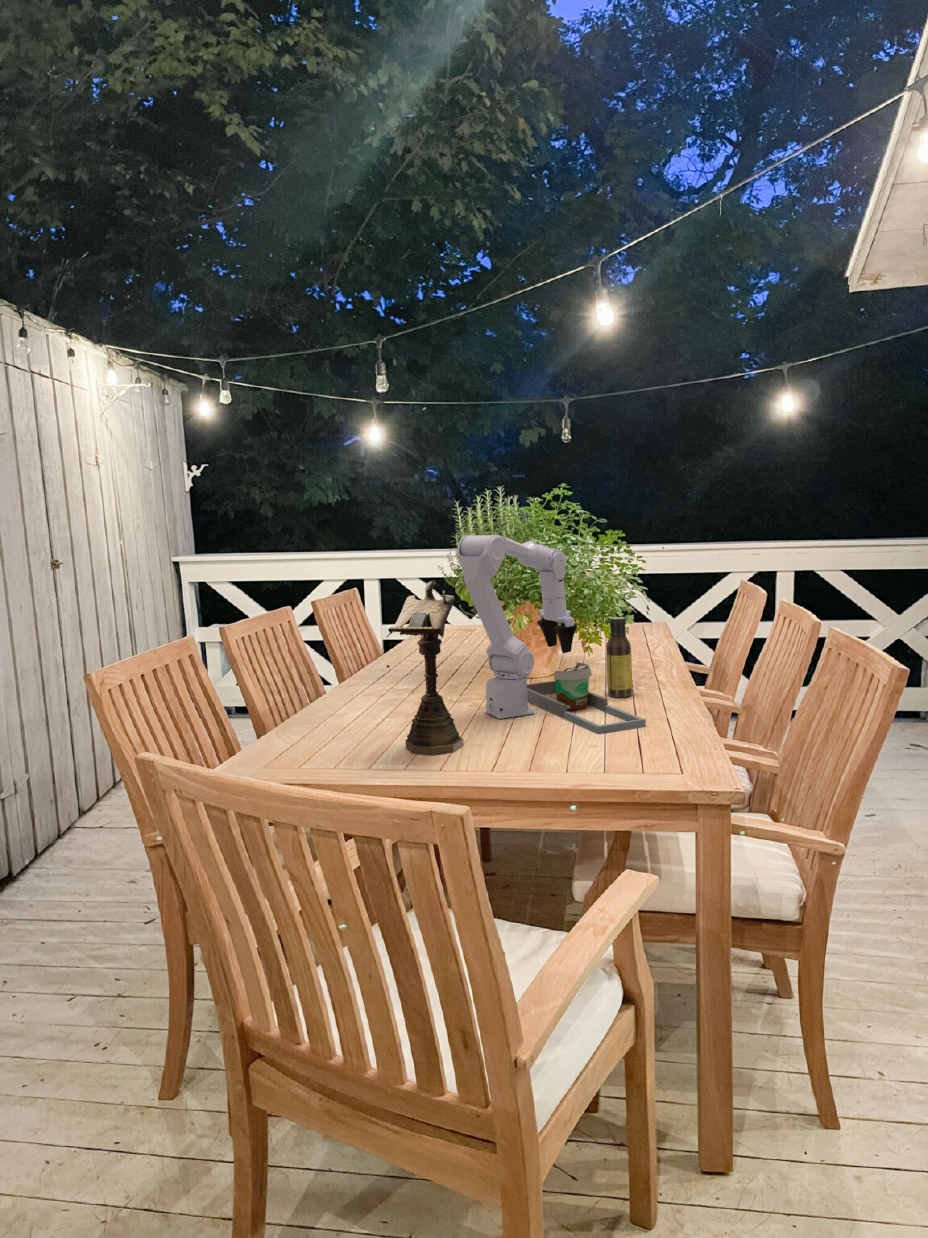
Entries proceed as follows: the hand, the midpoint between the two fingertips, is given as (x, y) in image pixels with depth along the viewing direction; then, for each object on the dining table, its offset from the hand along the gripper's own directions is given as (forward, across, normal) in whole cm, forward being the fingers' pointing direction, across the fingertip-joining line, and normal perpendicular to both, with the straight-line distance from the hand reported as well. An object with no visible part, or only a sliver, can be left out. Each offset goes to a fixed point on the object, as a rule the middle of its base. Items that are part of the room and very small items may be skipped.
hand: (559, 649), depth 209 cm
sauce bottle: (+14, -7, -12) cm, 20 cm away
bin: (+12, -7, +5) cm, 14 cm away
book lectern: (+6, -28, +45) cm, 53 cm away
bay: (+10, -26, +4) cm, 28 cm away
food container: (+12, -13, +3) cm, 18 cm away
